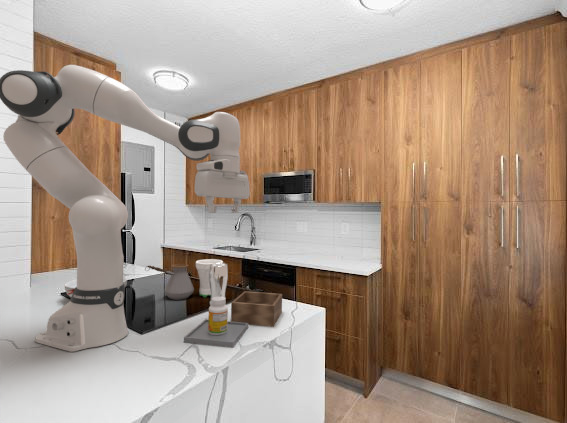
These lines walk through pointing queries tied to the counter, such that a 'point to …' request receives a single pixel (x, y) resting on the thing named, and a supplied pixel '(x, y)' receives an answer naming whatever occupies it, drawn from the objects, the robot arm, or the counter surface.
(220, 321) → the supplement bottle
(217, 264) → the beer glass
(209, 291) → the cup
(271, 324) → the walnut box
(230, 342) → the grey tray
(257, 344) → the counter surface
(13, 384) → the counter surface
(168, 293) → the coffee pot
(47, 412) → the counter surface
